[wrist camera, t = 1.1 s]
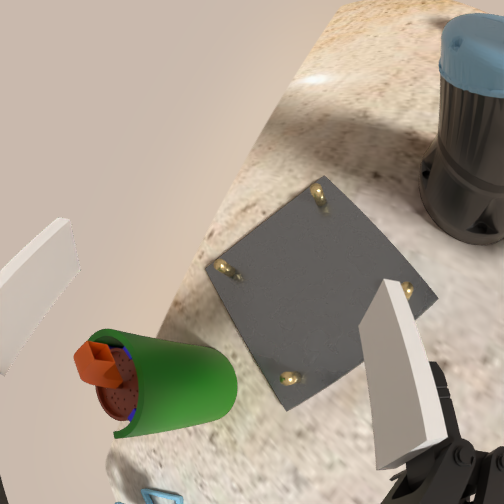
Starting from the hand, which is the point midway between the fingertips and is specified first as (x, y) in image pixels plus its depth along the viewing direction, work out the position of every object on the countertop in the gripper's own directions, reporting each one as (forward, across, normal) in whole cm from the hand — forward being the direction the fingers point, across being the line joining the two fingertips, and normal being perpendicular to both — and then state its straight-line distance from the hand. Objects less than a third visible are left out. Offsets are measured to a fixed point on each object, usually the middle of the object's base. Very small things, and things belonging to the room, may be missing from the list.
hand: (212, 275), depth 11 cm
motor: (+10, -2, -26) cm, 28 cm away
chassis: (+18, +9, -14) cm, 24 cm away
